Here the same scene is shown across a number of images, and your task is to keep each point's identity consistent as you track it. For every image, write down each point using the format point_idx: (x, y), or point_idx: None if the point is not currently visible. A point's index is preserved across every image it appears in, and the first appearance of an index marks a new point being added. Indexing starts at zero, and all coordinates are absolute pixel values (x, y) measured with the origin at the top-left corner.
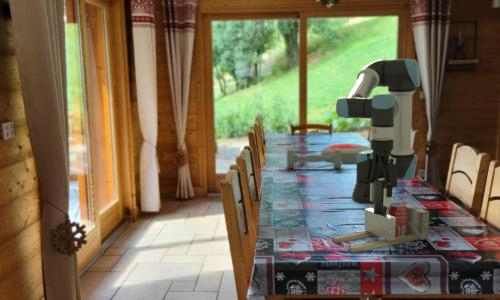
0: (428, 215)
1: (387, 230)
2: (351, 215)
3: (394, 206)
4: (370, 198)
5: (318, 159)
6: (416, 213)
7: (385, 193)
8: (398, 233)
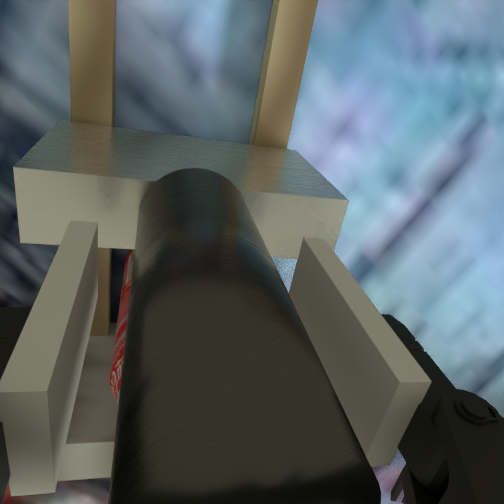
0: None
1: (53, 138)
2: (494, 281)
3: None
4: (326, 250)
5: None
6: (94, 425)
7: (26, 322)
8: (132, 259)
